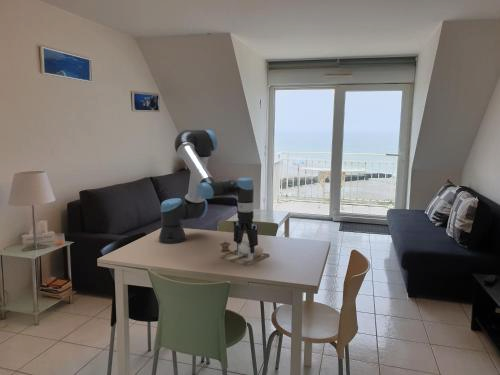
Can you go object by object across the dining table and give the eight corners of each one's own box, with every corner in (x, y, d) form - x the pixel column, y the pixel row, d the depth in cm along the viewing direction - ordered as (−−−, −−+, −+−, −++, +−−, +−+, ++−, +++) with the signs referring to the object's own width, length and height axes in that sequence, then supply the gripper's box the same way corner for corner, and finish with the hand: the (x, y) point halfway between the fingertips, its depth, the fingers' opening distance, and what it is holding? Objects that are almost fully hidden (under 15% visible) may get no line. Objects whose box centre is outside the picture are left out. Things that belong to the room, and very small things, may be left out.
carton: (219, 258, 196) (219, 255, 196) (242, 250, 209) (242, 247, 209) (246, 266, 185) (246, 263, 185) (269, 257, 198) (269, 254, 198)
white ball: (244, 250, 195) (244, 239, 194) (254, 253, 191) (254, 241, 190) (236, 254, 190) (236, 241, 189) (246, 256, 187) (246, 244, 186)
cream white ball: (248, 256, 197) (248, 245, 196) (255, 254, 202) (255, 242, 201) (257, 259, 194) (257, 247, 193) (265, 256, 198) (265, 244, 197)
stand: (218, 252, 207) (218, 243, 206) (225, 249, 211) (225, 241, 210) (225, 254, 203) (225, 245, 203) (232, 251, 207) (232, 243, 206)
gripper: (225, 209, 191) (225, 255, 194) (256, 215, 179) (255, 264, 182) (235, 206, 196) (236, 252, 200) (266, 212, 184) (265, 260, 188)
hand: (245, 257), depth 191 cm, fingers closed on white ball, 6 cm apart
